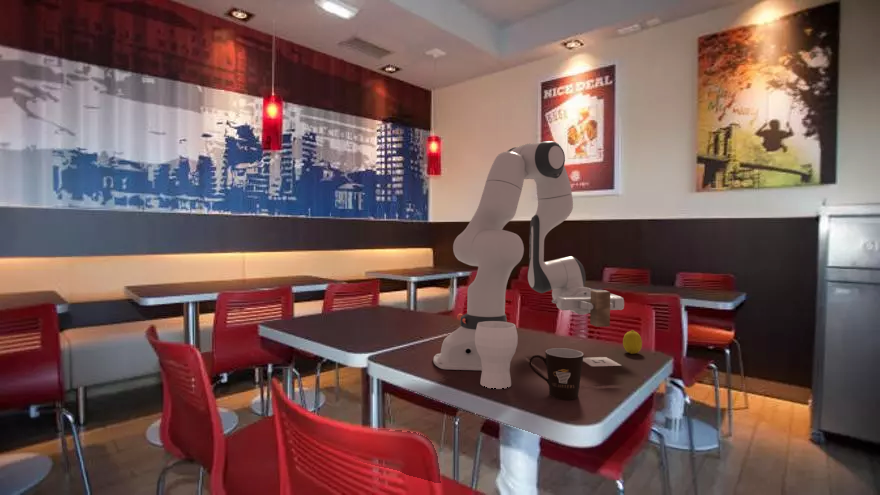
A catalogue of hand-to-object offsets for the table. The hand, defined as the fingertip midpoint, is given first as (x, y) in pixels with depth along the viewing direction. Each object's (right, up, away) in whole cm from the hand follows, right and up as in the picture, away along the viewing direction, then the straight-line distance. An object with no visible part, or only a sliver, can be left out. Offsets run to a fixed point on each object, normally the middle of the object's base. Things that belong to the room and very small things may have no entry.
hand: (601, 306), depth 129 cm
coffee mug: (-19, -17, -24) cm, 36 cm away
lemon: (+14, -17, +11) cm, 24 cm away
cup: (-33, -17, -18) cm, 41 cm away
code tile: (0, -17, +1) cm, 17 cm away
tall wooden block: (0, -6, +1) cm, 6 cm away
